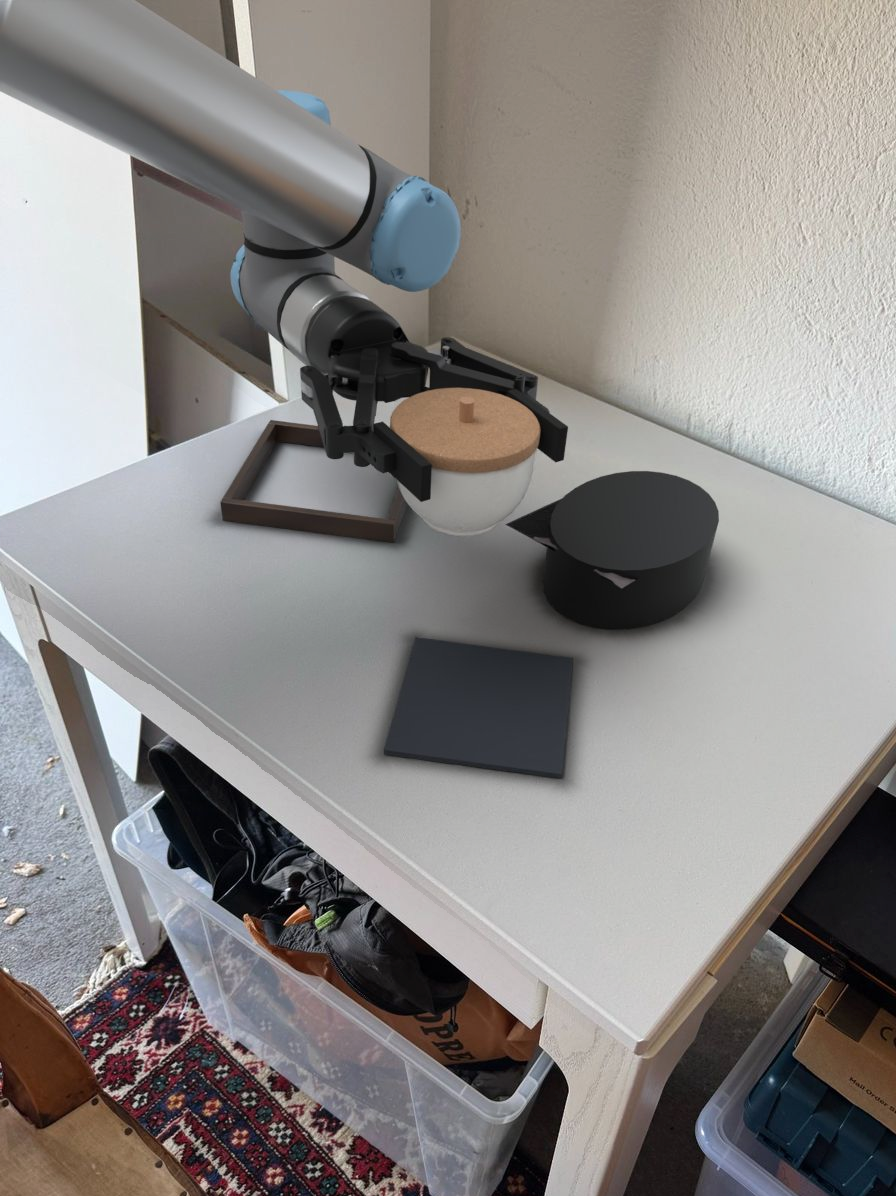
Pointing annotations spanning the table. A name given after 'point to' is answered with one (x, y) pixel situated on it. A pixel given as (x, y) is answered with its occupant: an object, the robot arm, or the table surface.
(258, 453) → the dark wooden square frame
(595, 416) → the table surface
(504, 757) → the mat
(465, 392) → the trinket box
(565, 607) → the tape dispenser
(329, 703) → the table surface
